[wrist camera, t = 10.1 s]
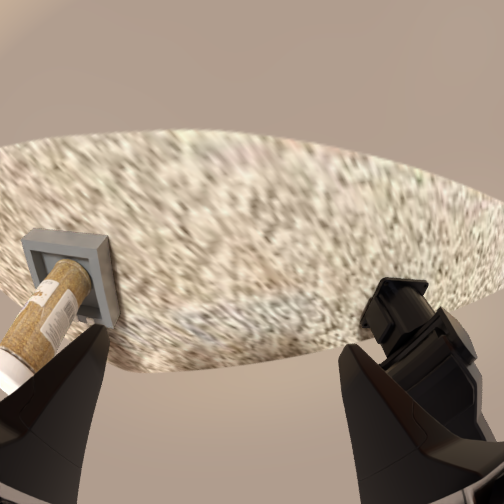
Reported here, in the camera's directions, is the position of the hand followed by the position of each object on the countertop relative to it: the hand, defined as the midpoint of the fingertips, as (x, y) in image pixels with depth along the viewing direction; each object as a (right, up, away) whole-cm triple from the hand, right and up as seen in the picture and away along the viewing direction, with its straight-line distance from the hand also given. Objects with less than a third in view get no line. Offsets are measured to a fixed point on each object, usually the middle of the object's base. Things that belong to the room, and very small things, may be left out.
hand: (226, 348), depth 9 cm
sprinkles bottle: (-16, +1, +13) cm, 21 cm away
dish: (-17, +1, +14) cm, 21 cm away
